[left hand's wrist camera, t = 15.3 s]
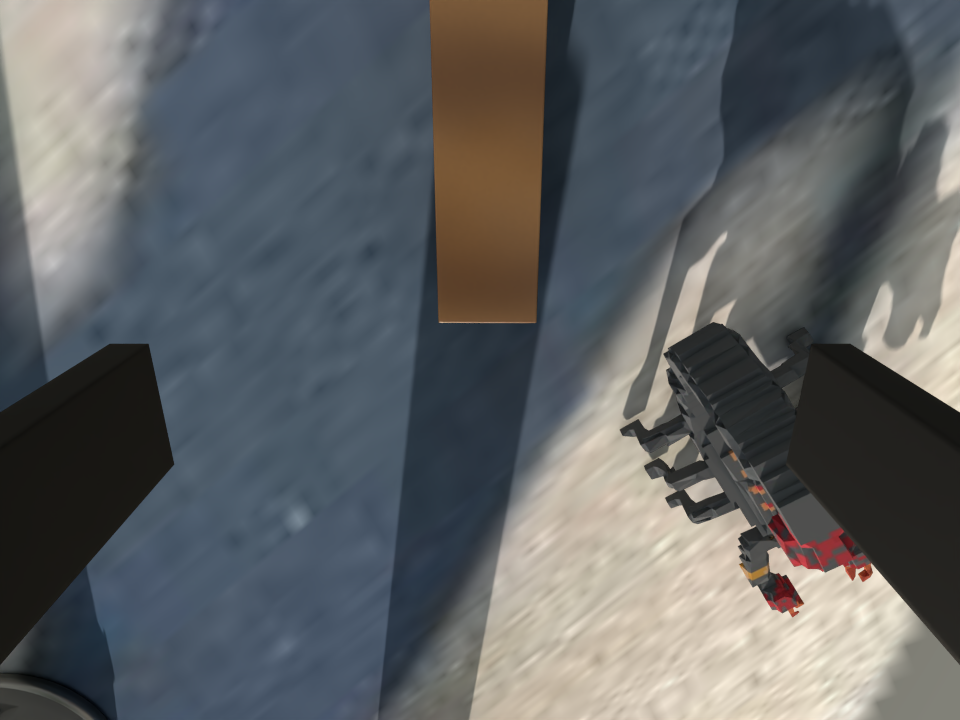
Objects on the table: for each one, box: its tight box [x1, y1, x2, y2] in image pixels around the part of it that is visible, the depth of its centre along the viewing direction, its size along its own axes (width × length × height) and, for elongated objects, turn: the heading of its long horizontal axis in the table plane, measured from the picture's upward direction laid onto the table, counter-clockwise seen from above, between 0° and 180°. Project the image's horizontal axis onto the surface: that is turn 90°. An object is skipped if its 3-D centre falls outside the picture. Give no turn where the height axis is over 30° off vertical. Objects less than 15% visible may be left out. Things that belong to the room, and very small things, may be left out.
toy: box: [620, 322, 873, 617], centre depth 34 cm, size 13×27×18 cm, turn 34°
